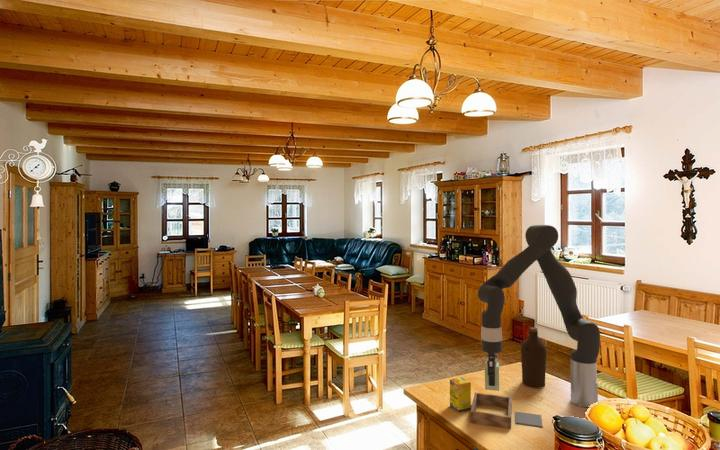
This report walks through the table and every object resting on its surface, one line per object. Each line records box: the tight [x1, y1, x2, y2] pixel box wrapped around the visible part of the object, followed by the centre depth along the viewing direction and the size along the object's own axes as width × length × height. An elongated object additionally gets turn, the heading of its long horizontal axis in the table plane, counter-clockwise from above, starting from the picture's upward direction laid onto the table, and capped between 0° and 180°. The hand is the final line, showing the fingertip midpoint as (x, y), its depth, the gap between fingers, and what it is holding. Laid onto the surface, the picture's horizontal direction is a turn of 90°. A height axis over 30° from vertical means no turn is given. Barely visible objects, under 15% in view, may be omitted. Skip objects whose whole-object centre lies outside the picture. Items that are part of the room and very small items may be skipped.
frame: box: [469, 391, 513, 429], centre depth 164 cm, size 14×18×4 cm
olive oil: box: [520, 327, 548, 389], centre depth 192 cm, size 11×11×25 cm
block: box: [484, 361, 500, 392], centre depth 164 cm, size 5×5×9 cm
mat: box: [515, 411, 543, 428], centre depth 160 cm, size 9×9×1 cm
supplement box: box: [449, 376, 472, 413], centre depth 170 cm, size 6×6×11 cm
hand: (492, 382), depth 164 cm, fingers closed on block, 5 cm apart
